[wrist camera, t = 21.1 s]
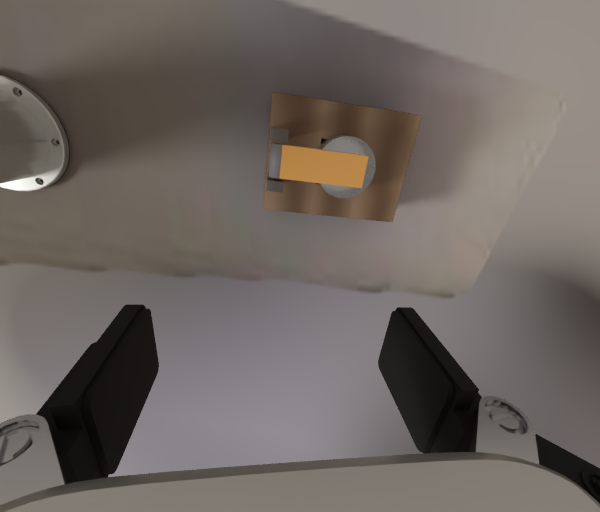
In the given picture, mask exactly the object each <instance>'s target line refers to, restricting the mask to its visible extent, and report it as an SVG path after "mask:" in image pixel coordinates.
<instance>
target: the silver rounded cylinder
mask: <svg viewBox="0 0 600 512" xmlns="http://www.w3.org/2000/svg"><path fill="white" fill-rule="evenodd" d="M317 149H323V150H330V151H338V152H345V153H353V154H360V155H366V156H369V157H368V162H367V166H366V171H365V176H364V180H363V185H362V188H355V187H347V186H338V185H330V184H321V183H319V184H320V185H321V187H322V188H323V189H324V190H325V191H326V192H327V193H328V194H330V195H332V196H334V197H337V198H351V197H354V196H356V195H358V194H360V193H361V192H363V191H364V190H365V189H366V188H367V187H368V186H369V184H370V183H371V181H372V179H373V176H374V173H375V167H376V163H375V156H374V154H373V151H372V149H371V148H370V147H369V145H368V144H367V143H366V142H364V141H363V140H361V139H359V138H357V137H352V136H344V135H337V136H333V137H330V138H328V139H326V140H325V141H323V142H322V143H321V144H320V145H319V147H318V148H317Z"/></svg>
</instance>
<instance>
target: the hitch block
mask: <svg viewBox="0 0 600 512" xmlns="http://www.w3.org/2000/svg"><path fill="white" fill-rule="evenodd" d="M421 117H422V115H417V114H410V113H404V112H397V111H391V110H385V109H378V108H372V107H365V106H359V105H353V104H346V103H340V102H333V101H327V100H320V99H314V98H308V97H301V96H295V95H288V94H282V93H276V92H272V101H271V115H270V128H269V141H268V154H267V167H266V181H265V194H264V207H263V209H268V210H278V211H287V212H297V213H307V214H317V215H327V216H337V217H346V218H356V219H366V220H376V221H386V222H393V219H394V215H395V211H396V208H397V204H398V201H399V197H400V193H401V190H402V186H403V182H404V179H405V175H406V171H407V168H408V164H409V160H410V157H411V153H412V149H413V146H414V142H415V138H416V135H417V131H418V127H419V124H420V120H421ZM337 135H344V136H352V137H357V138H359V139H361V140H363V141H364V142H366V143H367V144H368V145H369V147H370V148H371V149H372V151H373V154H374V156H375V163H376V167H375V173H374V176H373V179H372V181H371V183H370V184H369V186H368V187H367V188H366V189H365V190H364V191H363V192H361V193H360V194H358V195H356V196H354V197H351V198H337V197H334V196H332V195H330V194H328V193H327V192H326V191H325V190H324V189H323V188H322V187H321V185H320V184H319V183H313V182H305V181H296V180H288V179H279V178H271V177H269V176H268V174H269V161H270V149H271V143H278V144H285V145H293V146H300V147H308V148H315V149H317V148H318V147H319V145H320V144H321V138H322V139H328V138H330V137H333V136H337Z"/></svg>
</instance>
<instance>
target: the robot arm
mask: <svg viewBox="0 0 600 512" xmlns="http://www.w3.org/2000/svg"><path fill="white" fill-rule="evenodd" d="M68 161H69V147H68V140H67V137H66V134H65V131H64V129H63V127H62V125H61V123H60V121H59V119H58V117H57V116H56V115H55V113H54V112H53V111H52V109H51V108H50V107H49V106H48V105H47V103H46V102H45V101H44V100H43V99H42V98H41V97H40V96H38V95H37V94H36V93H35V92H33V91H32V90H31V89H30V88H28V87H26V86H25V85H23V84H21V83H20V82H18V81H16V80H14V79H11V78H9V77H7V76H4V75H0V187H2V188H5V189H9V190H14V191H34V190H39V189H43V188H46V187H48V186H50V185H52V184H54V183H56V182H57V181H58V180H59V179H60V178H61V177H62V175H63V173H64V172H65V170H66V168H67V164H68ZM378 364H379V369H380V371H381V373H382V375H383V377H384V380H385V381H386V384H387V386H388V388H389V390H390V392H391V394H392V396H393V398H394V401H395V403H396V405H397V407H398V409H399V411H400V413H401V415H402V418H403V420H404V422H405V424H406V426H407V428H408V430H409V432H410V434H411V437H412V439H413V441H414V443H415V445H416V447H417V449H418V450H419V451H420V452H423V454H407V455H392V456H377V457H361V458H346V459H333V460H318V461H304V462H290V463H276V464H263V465H249V466H235V467H223V468H209V469H197V470H184V471H171V472H159V473H149V474H139V475H128V476H118V477H108V475H109V474H113V473H114V472H115V471H116V469H117V467H118V465H119V463H120V460H121V458H122V456H123V453H124V451H125V449H126V446H127V444H128V441H129V439H130V437H131V435H132V432H133V430H134V427H135V425H136V423H137V420H138V418H139V416H140V413H141V411H142V408H143V406H144V404H145V401H146V399H147V397H148V394H149V392H150V390H151V387H152V385H153V382H154V380H155V378H156V376H157V373H158V367H159V363H158V356H157V350H156V343H155V337H154V330H153V323H152V317H151V311H150V309H146V308H145V306H144V305H125V306H124V307H123V308H122V309H121V311H120V312H119V313H118V315H117V316H116V317H115V319H114V320H113V321H112V323H111V324H110V325H109V327H108V328H107V329H106V330H105V332H104V333H103V334H102V336H101V337H100V338H99V340H98V341H97V342H95V343H93V344H91V345H90V346H89V348H88V349H87V350H86V351H85V353H84V354H83V355H82V356H81V358H80V359H79V360H78V362H77V363H76V364H75V365H74V367H73V368H72V369H71V370H70V372H69V373H68V374H67V376H66V377H65V378H64V379H63V381H62V382H61V383H60V384H59V386H58V387H57V388H56V390H55V391H54V392H53V394H52V395H51V396H50V397H49V399H48V400H47V401H46V402H45V404H44V405H43V406H42V408H41V409H40V410H39V411H38V413H37V414H36V415H29V414H28V415H23V416H18V417H15V418H12V419H9V420H7V421H4V422H2V423H1V424H0V512H600V468H598V467H596V466H594V465H592V464H590V463H588V462H587V461H585V460H583V459H581V458H579V457H577V456H576V455H574V454H572V453H570V452H568V451H566V450H565V449H562V448H561V447H559V446H557V445H555V444H553V443H551V442H550V441H548V440H546V439H544V438H542V437H540V436H539V435H537V434H535V430H534V427H533V424H532V422H531V421H530V420H529V418H528V416H527V415H525V413H523V411H521V410H520V409H519V408H518V407H516V406H515V405H514V404H512V403H510V402H508V401H507V400H505V399H502V398H499V397H496V396H485V397H483V398H482V397H481V396H480V395H479V393H478V391H479V389H478V388H477V387H476V385H475V384H474V383H473V382H472V380H471V379H470V378H469V377H468V376H467V374H466V373H465V372H464V371H463V369H462V368H461V367H460V366H459V364H458V363H457V362H456V361H455V359H454V358H453V357H452V356H451V355H450V353H449V352H448V351H447V350H446V348H445V347H444V346H443V345H442V343H441V342H440V341H439V340H438V339H437V337H436V336H435V335H434V334H433V333H432V331H431V330H430V329H429V327H428V326H427V325H426V324H425V323H424V321H423V320H422V319H421V318H420V316H419V315H418V314H417V313H416V311H415V310H414V309H413V308H397V309H396V310H395V311H393V312H392V314H391V317H390V321H389V324H388V328H387V332H386V335H385V339H384V342H383V346H382V349H381V353H380V357H379V361H378Z"/></svg>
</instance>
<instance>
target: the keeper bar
mask: <svg viewBox="0 0 600 512" xmlns="http://www.w3.org/2000/svg"><path fill="white" fill-rule="evenodd" d="M368 157H369V156H366V155H360V154H353V153H345V152H338V151H330V150H323V149H315V148H308V147H300V146H293V145H285V144H278V143H271V149H270V161H269V174H268V176H269V177H271V178H279V179H288V180H296V181H305V182H313V183H321V184H330V185H338V186H347V187H355V188H362V185H363V180H364V176H365V171H366V166H367V162H368Z"/></svg>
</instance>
